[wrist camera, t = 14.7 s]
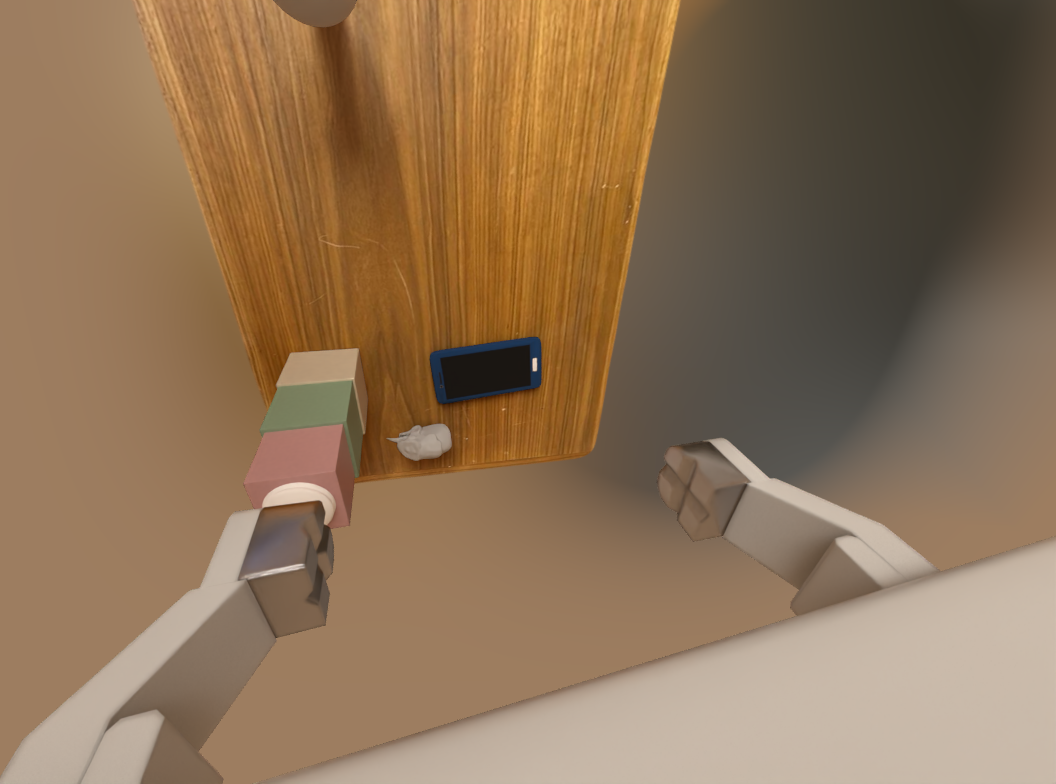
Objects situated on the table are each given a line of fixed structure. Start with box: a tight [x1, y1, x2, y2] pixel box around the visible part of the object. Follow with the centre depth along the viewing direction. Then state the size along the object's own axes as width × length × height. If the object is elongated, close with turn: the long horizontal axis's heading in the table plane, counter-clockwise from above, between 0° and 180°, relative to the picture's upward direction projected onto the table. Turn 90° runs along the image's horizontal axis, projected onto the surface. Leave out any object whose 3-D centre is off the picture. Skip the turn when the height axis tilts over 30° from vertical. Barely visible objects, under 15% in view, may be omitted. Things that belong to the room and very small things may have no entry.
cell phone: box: [430, 337, 541, 404], centre depth 52 cm, size 7×14×1 cm, turn 92°
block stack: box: [243, 348, 368, 529], centre depth 39 cm, size 7×7×20 cm
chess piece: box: [262, 482, 336, 525], centre depth 27 cm, size 5×5×10 cm
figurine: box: [387, 424, 452, 461], centre depth 52 cm, size 4×8×5 cm, turn 79°
